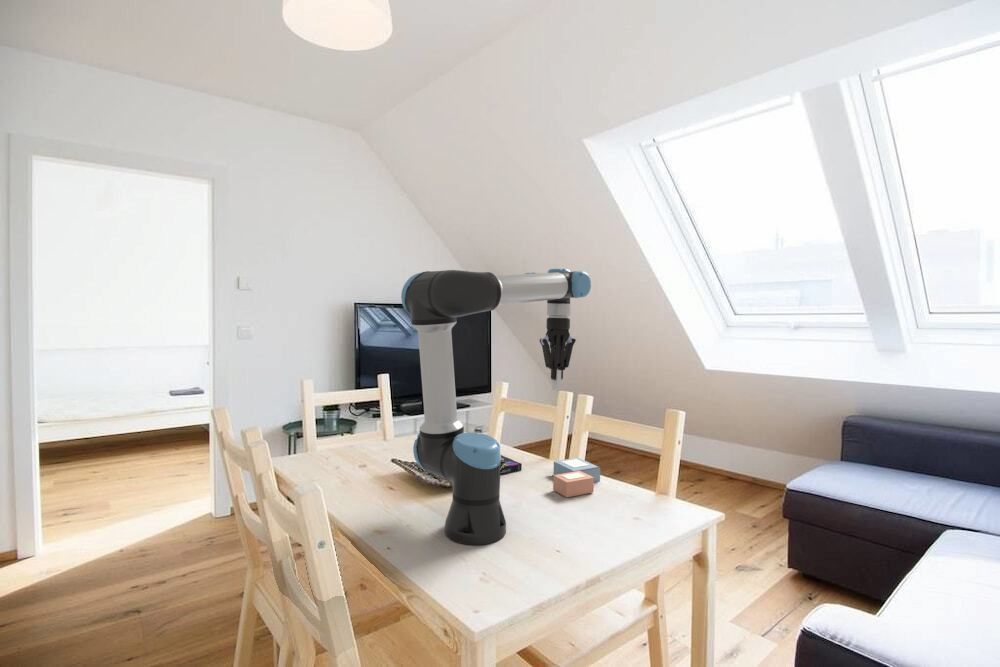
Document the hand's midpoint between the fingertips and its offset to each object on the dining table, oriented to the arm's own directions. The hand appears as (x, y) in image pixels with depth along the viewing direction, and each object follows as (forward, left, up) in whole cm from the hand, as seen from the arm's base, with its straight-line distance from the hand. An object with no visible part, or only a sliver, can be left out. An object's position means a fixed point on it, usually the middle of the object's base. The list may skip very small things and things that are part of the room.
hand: (556, 389), depth 162 cm
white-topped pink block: (-12, +2, -29) cm, 32 cm away
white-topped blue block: (-2, -7, -29) cm, 30 cm away
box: (+17, +16, -30) cm, 38 cm away
